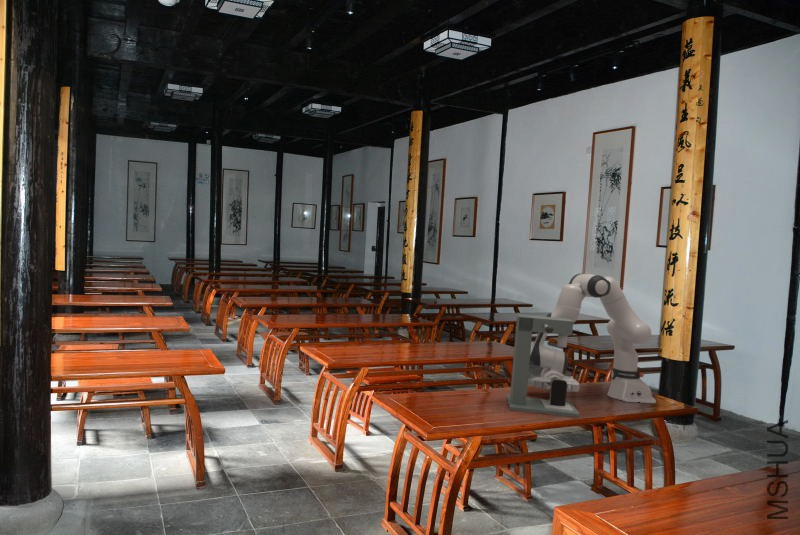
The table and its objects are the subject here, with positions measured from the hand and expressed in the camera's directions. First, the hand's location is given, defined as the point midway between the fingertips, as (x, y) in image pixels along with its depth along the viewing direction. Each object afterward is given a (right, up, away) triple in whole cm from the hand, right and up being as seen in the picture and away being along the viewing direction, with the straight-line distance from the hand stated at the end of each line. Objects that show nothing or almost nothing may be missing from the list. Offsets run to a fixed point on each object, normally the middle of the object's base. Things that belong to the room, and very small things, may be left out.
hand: (558, 388), depth 259 cm
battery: (-1, -7, +1) cm, 8 cm away
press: (-8, -9, -2) cm, 12 cm away
